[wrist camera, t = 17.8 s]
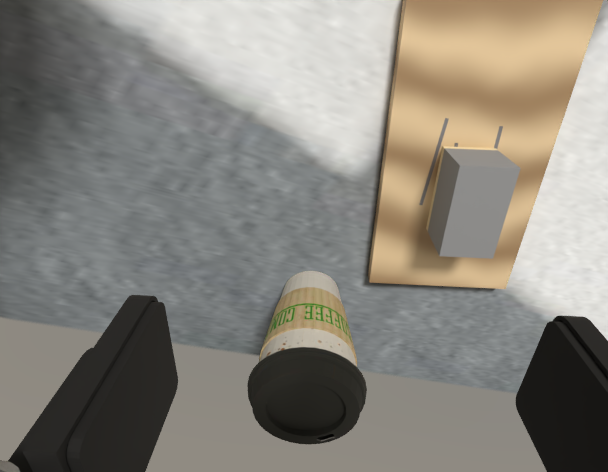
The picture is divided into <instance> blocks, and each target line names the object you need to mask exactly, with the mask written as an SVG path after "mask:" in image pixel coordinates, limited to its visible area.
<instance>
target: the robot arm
mask: <svg viewBox="0 0 608 472" xmlns="http://www.w3.org/2000/svg"><path fill="white" fill-rule="evenodd" d="M177 385H178V376H177V372H176V366H175V360H174V355H173V349H172V343H171V338H170V332H169V327H168V321H167V316H166V310H165V306H164V304H163V303H162V302H158V300H157V298H156V297H155V296H143V295H131V296H129V297H128V298H127V300H126V301H125V303H124V304H123V306H122V307H121V309H120V310H119V311H118V313H117V314H116V316H115V317H114V319H113V320H112V322H111V323H110V325H109V326H108V327H107V329H106V330H105V332H104V333H103V335H102V336H101V338H100V339H99V341H98V342H97V344H96V345H95V347H94V348H90V349H89V350H87V351H86V352H85V353H84V354H83V355H82V357H81V358H80V360H79V361H78V362H77V364H76V365H75V367H74V368H73V370H72V371H71V372H70V374H69V375H68V377H67V378H66V379H65V381H64V382H63V384H62V385H61V387H60V388H59V390H58V391H57V393H56V394H55V395H54V397H53V398H52V399H51V401H50V402H49V404H48V405H47V406H46V408H45V409H44V411H43V412H42V414H41V415H40V416H39V418H38V419H37V421H36V422H35V424H34V425H33V426H32V428H31V429H30V431H29V432H28V433H27V435H26V436H25V438H24V439H23V441H22V442H21V443H20V445H19V447H18V448H17V449H16V451H15V452H14V453H13V455H12V456H11V458H10V459H9V461H2V460H0V472H145V471H146V468H147V466H148V463H149V460H150V458H151V455H152V453H153V450H154V447H155V445H156V442H157V440H158V437H159V435H160V432H161V429H162V427H163V424H164V422H165V419H166V417H167V414H168V412H169V409H170V406H171V404H172V401H173V399H174V396H175V393H176V390H177ZM516 407H517V410H518V413H519V415H520V417H521V419H522V421H523V423H524V425H525V427H526V429H527V431H528V433H529V435H530V437H531V440H532V442H533V443H534V446H535V448H536V450H537V452H538V453H539V456H540V458H541V460H542V462H543V464H544V466H545V468H546V470H547V472H608V341H607V340H606V338H605V337H604V336H603V335H602V334H601V333H600V332H599V330H598V329H597V328H596V327H595V326H594V325H593V323H592V322H591V321H590V320H589V319H587V318H585V317H576V316H557V317H556V318H554V320H553V321H552V322H549V323H547V325H546V327H545V329H544V332H543V334H542V336H541V339H540V341H539V344H538V346H537V348H536V351H535V353H534V355H533V358H532V360H531V362H530V365H529V367H528V369H527V372H526V374H525V377H524V379H523V381H522V384H521V386H520V388H519V391H518V393H517V396H516Z"/></svg>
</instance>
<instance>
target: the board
mask: <svg viewBox="0 0 608 472" xmlns="http://www.w3.org/2000/svg"><path fill="white" fill-rule="evenodd" d="M602 2H603V0H403V4H402V12H401V20H400V28H399V35H398V43H397V51H396V59H395V67H394V74H393V82H392V90H391V98H390V106H389V114H388V121H387V129H386V137H385V145H384V153H383V161H382V168H381V176H380V184H379V192H378V200H377V208H376V215H375V223H374V231H373V239H372V247H371V255H370V262H369V270H368V277H369V282H370V283H391V284H412V285H433V286H455V287H476V288H497V289H506V286H507V283H508V280H509V277H510V274H511V271H512V268H513V265H514V262H515V259H516V256H517V253H518V250H519V247H520V244H521V242H522V239H523V236H524V233H525V230H526V227H527V224H528V221H529V218H530V215H531V212H532V209H533V206H534V203H535V200H536V197H537V194H538V191H539V188H540V185H541V182H542V180H543V177H544V174H545V171H546V168H547V165H548V162H549V159H550V156H551V153H552V150H553V147H554V144H555V141H556V138H557V135H558V132H559V129H560V126H561V123H562V120H563V118H564V115H565V112H566V109H567V106H568V103H569V100H570V97H571V94H572V91H573V88H574V85H575V82H576V79H577V76H578V73H579V70H580V67H581V64H582V61H583V59H584V56H585V53H586V50H587V47H588V44H589V41H590V38H591V35H592V32H593V29H594V26H595V23H596V20H597V17H598V14H599V11H600V8H601V5H602ZM443 146H449V147H475V148H496V149H497V150H498V151H500V152H501V153H502V154H503V155H505V156H506V157H507V158H508V159H510V160H511V161H512V162H514V163H515V164H516V165H517V166H519V167H520V168H521V169H520V172H519V175H518V179H517V182H516V185H515V188H514V192H513V195H512V198H511V201H510V205H509V208H508V211H507V215H506V218H505V221H504V224H503V228H502V231H501V234H500V237H499V241H498V244H497V247H496V250H495V254H494V257H493V259H489V258H467V257H445V256H439V255H438V252H437V250H436V248H435V246H434V244H433V242H432V240H431V238H430V236H429V233H428V231H427V229H426V226H427V221H428V216H429V211H430V206H431V201H432V196H433V191H434V186H435V182H436V177H437V172H438V167H439V162H440V157H441V152H442V147H443Z"/></svg>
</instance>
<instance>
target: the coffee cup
mask: <svg viewBox="0 0 608 472" xmlns="http://www.w3.org/2000/svg"><path fill="white" fill-rule="evenodd" d="M366 391H367V389H366V382H365V379H364V377H363V375H362V373H361V372H360V371H359V369H358V368H357V359H356V354H355V350H354V346H353V342H352V338H351V334H350V330H349V326H348V322H347V318H346V314H345V310H344V307H343V305H342V303H341V298H340V294H339V290H338V287H337V285H336V283H335V282H334V280H333V279H331V278H330V277H329V276H327V275H326V274H323V273H321V272H316V271H304V272H301V273H298V274H296V275H294V276H292V277H291V278H290V279H289V280H288V281H287V283H286V285H285V287H284V290H283V293H282V296H281V299H280V301H279V302H278V304H277V306H276V309H275V312H274V315H273V318H272V320H271V323H270V326H269V329H268V332H267V335H266V338H265V341H264V344H263V346H262V349H261V353H260V357H259V363H258V364H257V365H256V366H255V367H254V369H253V370H252V372H251V374H250V376H249V380H248V397H249V401H250V403H251V406H252V408H253V413H254V416H255V419H256V420H257V421H258V423H259V424H260V426H261V427H263V429H265V430H266V431H267V432H269V433H270V434H272V435H273V436H275V437H278V438H280V439H282V440H285V441H289V442H293V443H299V444H320V443H324V442H329V441H332V440H335V439H337V438H340V437H341V436H343V435H345V434H346V433H347V432H349V431H350V430H351V429H352V428H353V427H354V425H355V424H356V423H357V420H358V418H359V414H360V412H361V411H362V409H363V406H364V404H365V399H366Z"/></svg>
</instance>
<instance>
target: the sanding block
mask: <svg viewBox="0 0 608 472" xmlns="http://www.w3.org/2000/svg"><path fill="white" fill-rule="evenodd" d="M520 169H521V168H520V167H519V166H517V165H516V164H515V163H514V162H512V161H511V160H510V159H508V158H507V157H506V156H505V155H503V154H502V153H501V152H500V151H498V150H497V149H496V148H475V147H449V146H443V147H442V152H441V157H440V162H439V167H438V172H437V177H436V182H435V186H434V191H433V196H432V201H431V206H430V211H429V216H428V221H427V226H426V229H427V231H428V233H429V236H430V238H431V240H432V242H433V244H434V246H435V248H436V250H437V252H438V255H439V256H445V257H467V258H489V259H493V257H494V254H495V250H496V247H497V244H498V241H499V237H500V234H501V231H502V228H503V224H504V221H505V218H506V215H507V211H508V208H509V205H510V201H511V198H512V195H513V192H514V188H515V185H516V182H517V179H518V175H519V172H520Z"/></svg>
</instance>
